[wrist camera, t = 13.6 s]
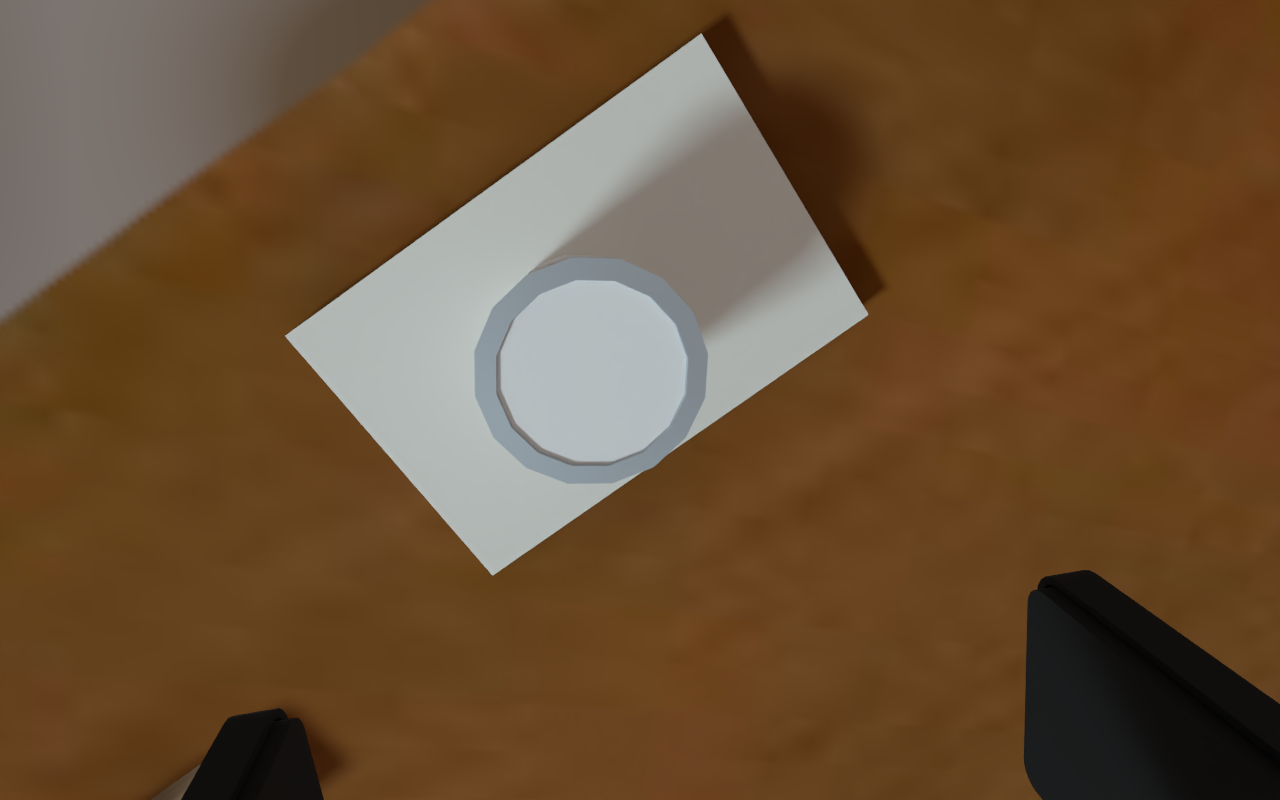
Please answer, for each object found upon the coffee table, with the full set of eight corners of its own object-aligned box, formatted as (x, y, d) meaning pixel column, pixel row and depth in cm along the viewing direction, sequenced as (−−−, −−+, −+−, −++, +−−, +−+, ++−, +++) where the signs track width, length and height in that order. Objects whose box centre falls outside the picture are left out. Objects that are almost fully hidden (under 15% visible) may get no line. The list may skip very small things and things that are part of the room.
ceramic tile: (694, 38, 29) (701, 33, 28) (856, 309, 32) (868, 314, 31) (294, 329, 30) (284, 335, 29) (493, 561, 33) (492, 575, 32)
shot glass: (682, 400, 31) (723, 463, 25) (506, 433, 31) (499, 507, 24) (656, 221, 29) (693, 236, 23) (467, 253, 29) (448, 278, 22)
